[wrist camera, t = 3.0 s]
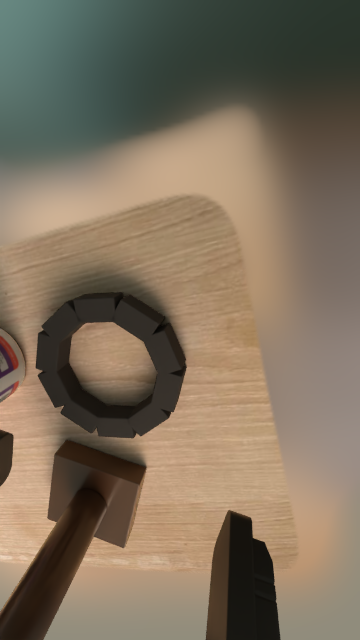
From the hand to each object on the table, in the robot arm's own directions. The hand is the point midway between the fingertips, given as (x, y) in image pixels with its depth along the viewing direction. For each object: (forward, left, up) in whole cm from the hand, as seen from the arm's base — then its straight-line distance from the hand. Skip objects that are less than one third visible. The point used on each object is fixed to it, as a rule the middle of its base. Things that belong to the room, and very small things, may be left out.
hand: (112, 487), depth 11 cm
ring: (+3, 0, -8) cm, 9 cm away
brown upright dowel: (+3, +10, -8) cm, 13 cm away
